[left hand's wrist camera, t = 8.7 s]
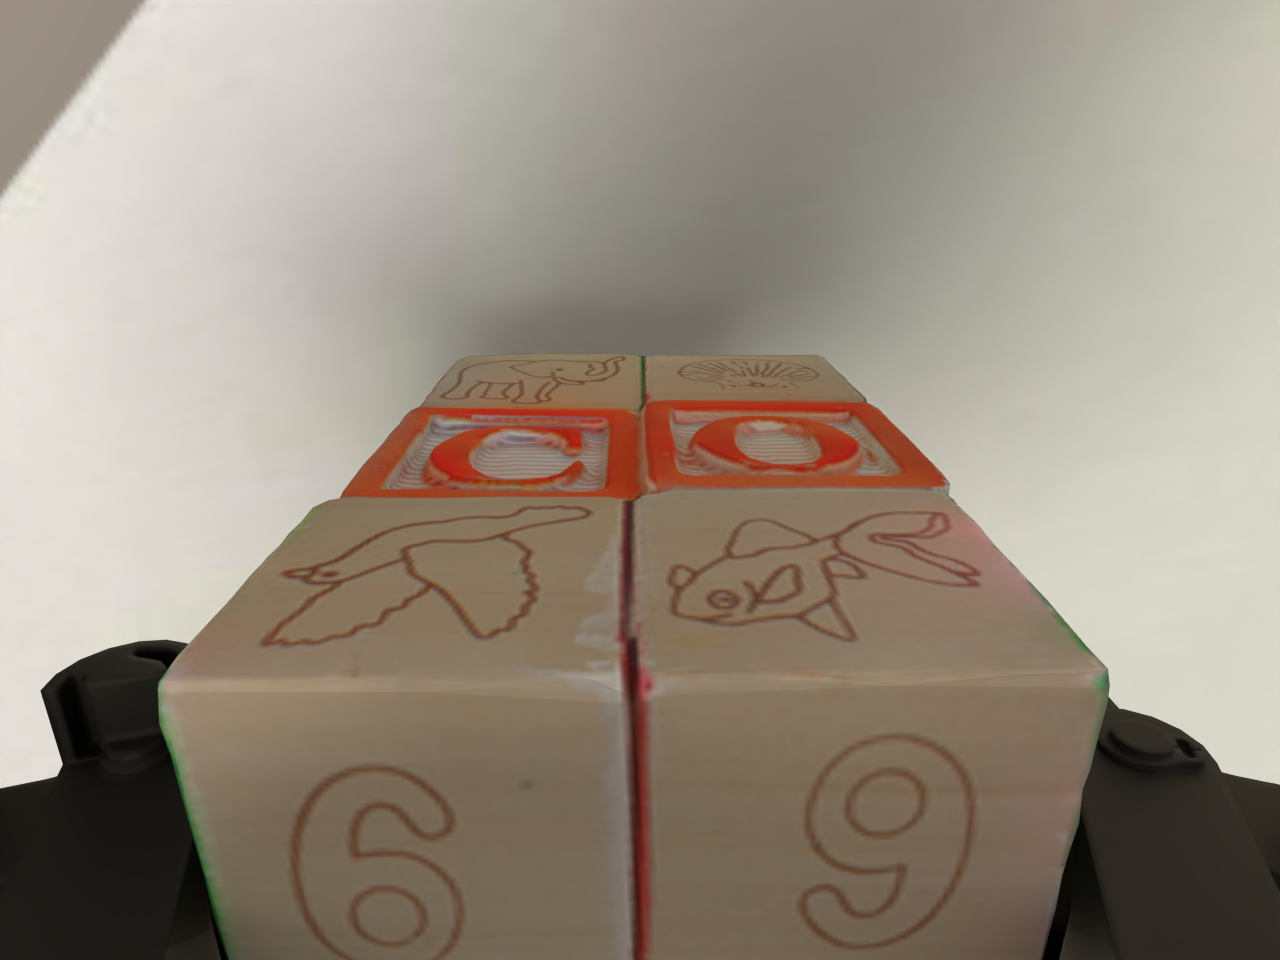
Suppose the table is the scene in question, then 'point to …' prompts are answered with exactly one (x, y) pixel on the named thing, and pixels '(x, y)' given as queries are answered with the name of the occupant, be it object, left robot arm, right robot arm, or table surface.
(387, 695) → the stack of blocks
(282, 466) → the table surface
